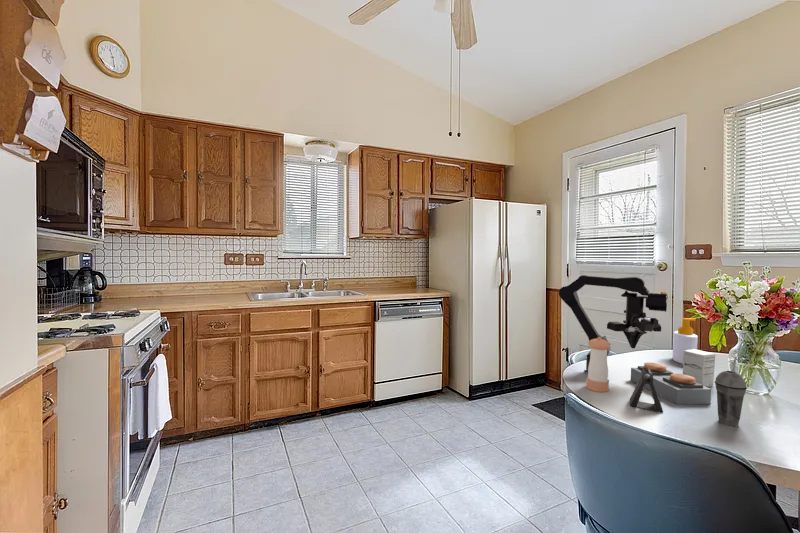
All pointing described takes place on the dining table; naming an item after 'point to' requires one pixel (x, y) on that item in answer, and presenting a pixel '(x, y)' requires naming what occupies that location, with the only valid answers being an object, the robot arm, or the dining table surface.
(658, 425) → the dining table surface
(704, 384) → the supplement box
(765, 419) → the dining table surface
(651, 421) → the dining table surface
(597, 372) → the salt shaker
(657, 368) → the pin left
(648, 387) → the socket block
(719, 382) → the beverage cup
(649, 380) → the phone stand
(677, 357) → the soap bottle
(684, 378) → the pin right
